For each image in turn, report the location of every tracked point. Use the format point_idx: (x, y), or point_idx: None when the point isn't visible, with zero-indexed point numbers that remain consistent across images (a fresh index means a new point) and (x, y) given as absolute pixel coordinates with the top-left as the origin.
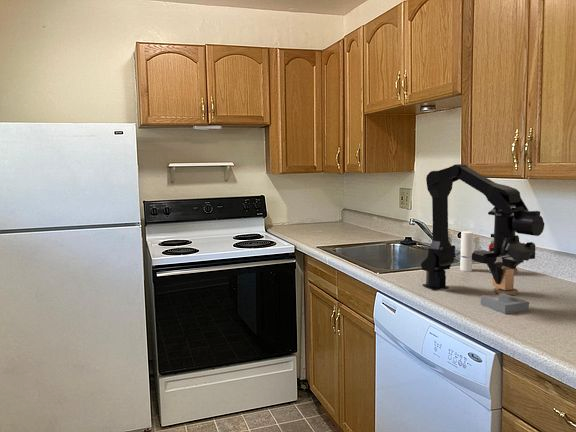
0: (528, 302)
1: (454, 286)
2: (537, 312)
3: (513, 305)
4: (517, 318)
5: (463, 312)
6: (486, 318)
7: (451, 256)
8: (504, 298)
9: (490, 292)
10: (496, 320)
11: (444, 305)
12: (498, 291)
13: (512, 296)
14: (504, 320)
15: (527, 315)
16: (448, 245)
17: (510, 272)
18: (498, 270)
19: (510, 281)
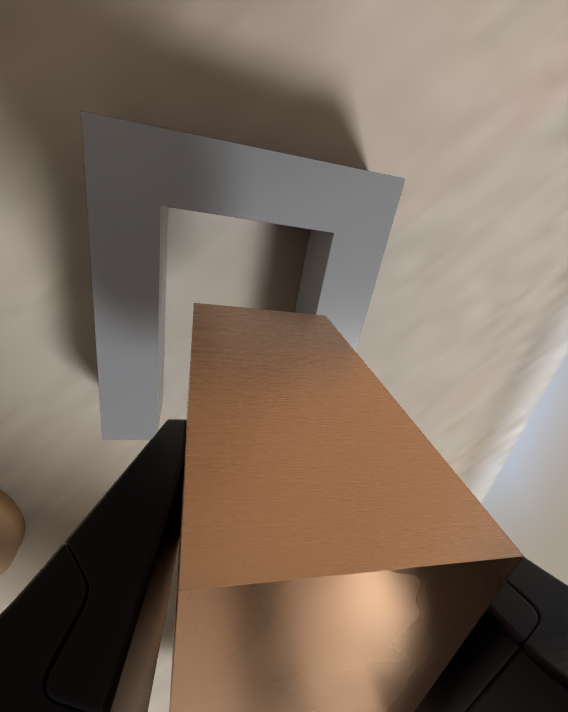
0: (89, 113)
1: (169, 643)
2: (63, 9)
3: (305, 159)
4: (395, 21)
5: (518, 338)
6: (545, 183)
7: None
8: (158, 372)
9: (50, 547)
10: (548, 105)
11: (472, 454)
12: (13, 531)
13: (101, 343)
14: (513, 62)
15: (244, 15)
16: None
17: (308, 483)
18: (549, 587)
19: (256, 358)
